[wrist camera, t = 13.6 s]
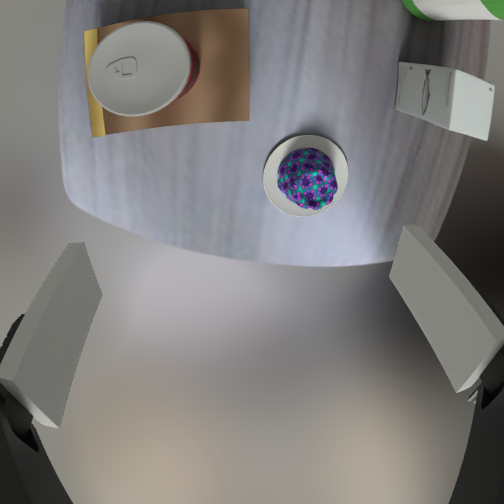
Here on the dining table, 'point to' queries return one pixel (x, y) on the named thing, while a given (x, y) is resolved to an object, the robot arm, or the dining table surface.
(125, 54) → the canned food
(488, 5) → the wine bottle
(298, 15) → the dining table surface
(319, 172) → the pudding
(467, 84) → the supplement box
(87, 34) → the wooden block
